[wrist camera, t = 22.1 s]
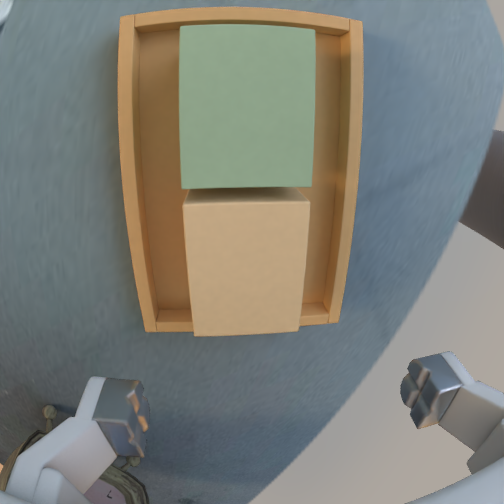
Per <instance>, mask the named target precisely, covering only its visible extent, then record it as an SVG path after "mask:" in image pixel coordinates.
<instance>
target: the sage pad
mask: <svg viewBox="0 0 504 504" xmlns="http://www.w3.org/2000/svg"><path fill="white" fill-rule="evenodd" d="M315 64H316V50H315V30H314V29H305V28H296V27H285V26H271V25H249V24H212V25H190V26H181V27H180V39H179V141H180V169H181V188H182V189H207V188H245V187H311V186H312V171H313V150H314V122H315Z"/></svg>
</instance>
